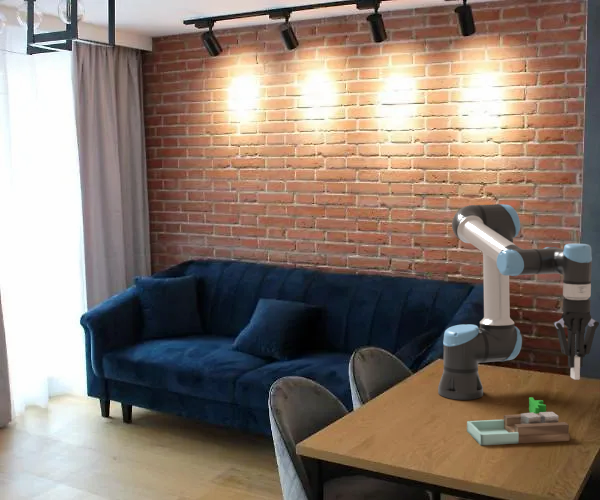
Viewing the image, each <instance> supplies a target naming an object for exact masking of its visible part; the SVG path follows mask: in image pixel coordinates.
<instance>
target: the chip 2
mask: <svg viewBox="0 0 600 500" xmlns="http://www.w3.org/2000/svg"><path fill="white" fill-rule="evenodd" d="M539 416H541V423H554V422H559V415H558V414H556V413H555V412H553V411H546V412H539Z"/></svg>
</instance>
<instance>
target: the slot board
mask: <svg viewBox="0 0 600 500" xmlns="http://www.w3.org/2000/svg"><path fill="white" fill-rule="evenodd" d="M521 414H522V413H520V414H504V415H503V420H504V429H505V430H506V431H507V432H509V433H510V432H518V433H519V439H518V443H517V444H531V443H532V444H534V443H552V442H569V441H570V432H569V427H570V425H569V424H568V423H567V422H565V421H558V422H554V423H534V424H521ZM537 415H539V414H537Z"/></svg>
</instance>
